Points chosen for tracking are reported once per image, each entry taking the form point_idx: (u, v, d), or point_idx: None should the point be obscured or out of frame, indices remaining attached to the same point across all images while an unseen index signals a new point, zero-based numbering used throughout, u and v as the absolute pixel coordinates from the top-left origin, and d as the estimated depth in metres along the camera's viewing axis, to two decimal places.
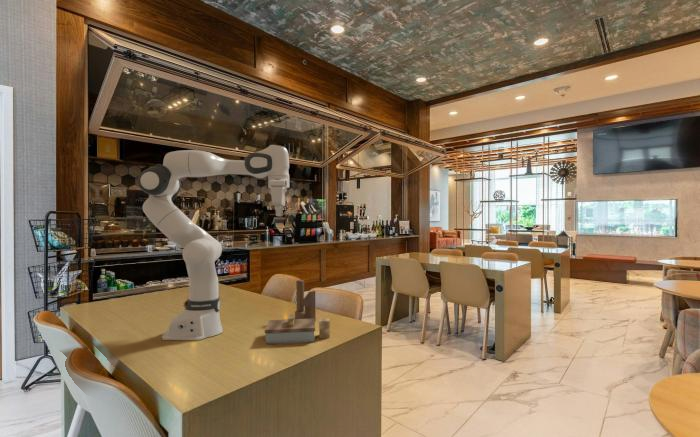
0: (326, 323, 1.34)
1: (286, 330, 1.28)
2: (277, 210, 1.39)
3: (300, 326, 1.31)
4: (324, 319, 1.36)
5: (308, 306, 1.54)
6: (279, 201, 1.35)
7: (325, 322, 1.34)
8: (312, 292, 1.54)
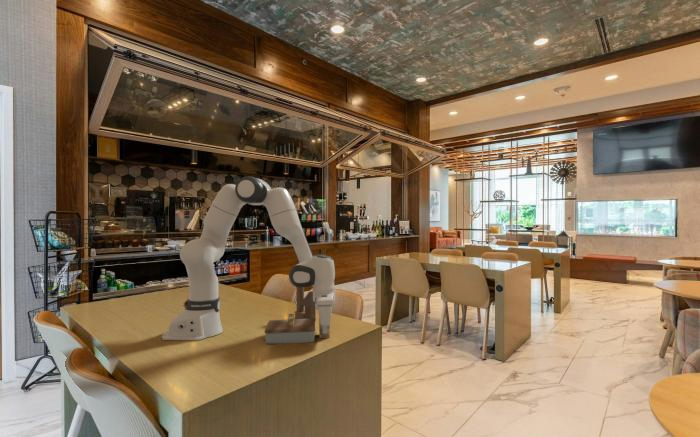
0: None
1: (286, 330, 1.28)
2: (324, 328, 1.32)
3: (300, 326, 1.31)
4: None
5: (308, 306, 1.54)
6: (328, 323, 1.26)
7: None
8: (312, 292, 1.54)
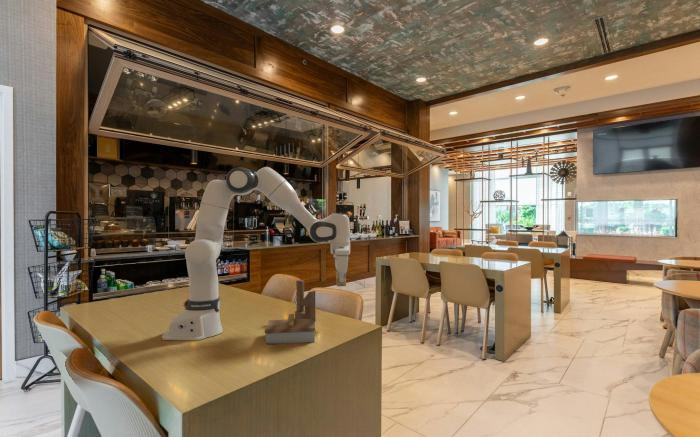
0: None
1: (286, 330, 1.28)
2: (341, 277, 1.48)
3: (300, 326, 1.31)
4: None
5: (308, 306, 1.54)
6: (345, 270, 1.42)
7: None
8: (312, 292, 1.54)
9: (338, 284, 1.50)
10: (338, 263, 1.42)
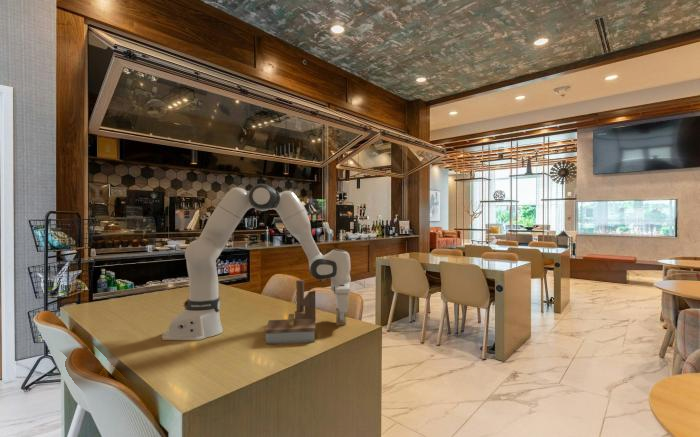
0: None
1: (286, 330, 1.28)
2: (341, 314, 1.47)
3: (300, 326, 1.31)
4: None
5: (308, 306, 1.54)
6: (345, 309, 1.42)
7: None
8: (312, 292, 1.54)
9: (338, 323, 1.50)
10: (338, 302, 1.42)
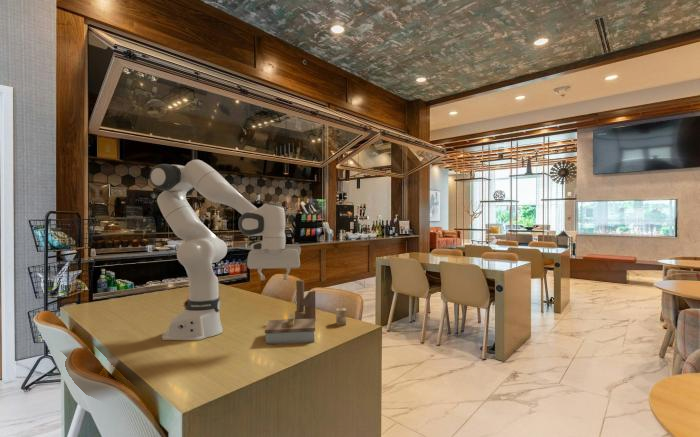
0: (343, 312, 1.50)
1: (286, 330, 1.28)
2: None
3: (300, 326, 1.31)
4: (341, 309, 1.52)
5: (308, 306, 1.54)
6: (247, 266, 1.32)
7: (342, 311, 1.50)
8: (312, 292, 1.54)
9: (338, 323, 1.50)
10: None
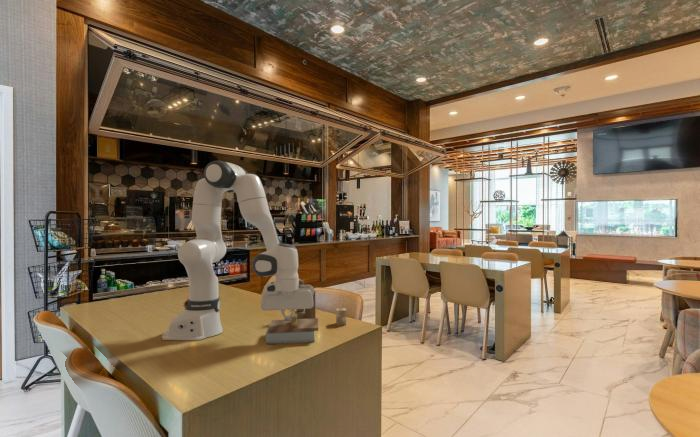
0: (343, 312, 1.50)
1: (289, 330, 1.28)
2: None
3: (303, 326, 1.31)
4: (341, 309, 1.52)
5: None
6: (261, 307, 1.32)
7: (342, 311, 1.50)
8: None
9: (338, 323, 1.50)
10: None
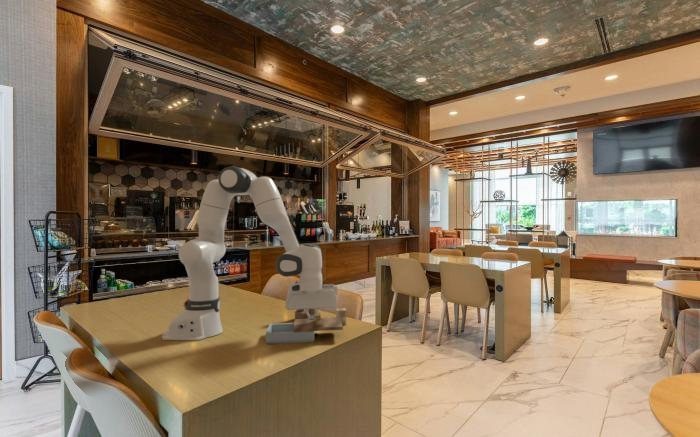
0: (343, 312, 1.50)
1: (314, 329, 1.29)
2: (307, 314, 1.35)
3: (327, 325, 1.32)
4: (341, 309, 1.52)
5: None
6: (285, 306, 1.33)
7: (342, 311, 1.50)
8: None
9: None
10: None
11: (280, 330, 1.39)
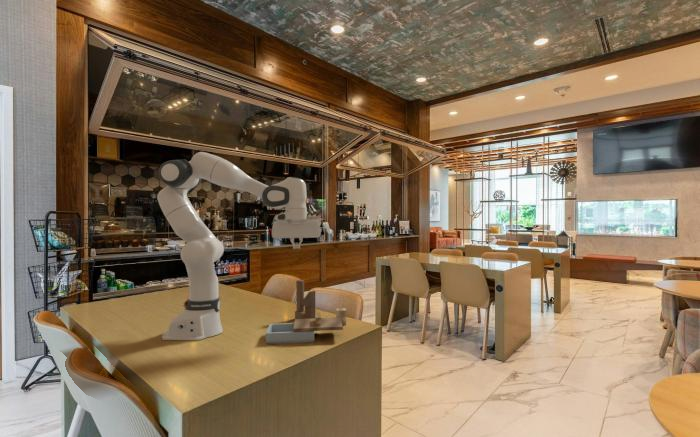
0: (343, 312, 1.50)
1: (314, 329, 1.29)
2: (292, 243, 1.44)
3: (327, 325, 1.32)
4: (341, 309, 1.52)
5: (308, 306, 1.54)
6: None
7: (342, 311, 1.50)
8: (312, 292, 1.54)
9: None
10: None
11: (280, 330, 1.39)
